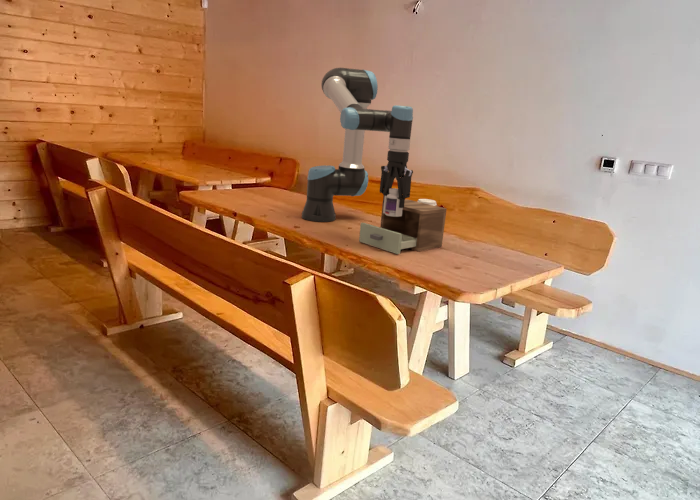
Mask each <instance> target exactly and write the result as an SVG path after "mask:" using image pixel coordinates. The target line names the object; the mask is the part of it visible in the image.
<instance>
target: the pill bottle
mask: <svg viewBox="0 0 700 500" xmlns="http://www.w3.org/2000/svg"><path fill="white" fill-rule="evenodd" d="M389 193H390V194H388V195H387V198H386V209H385V215H387V216H393V217H396V216H395V214H396V204H397V199H398V197H399V193H398V188H396V187H395V188H390V189H389Z"/></svg>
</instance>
